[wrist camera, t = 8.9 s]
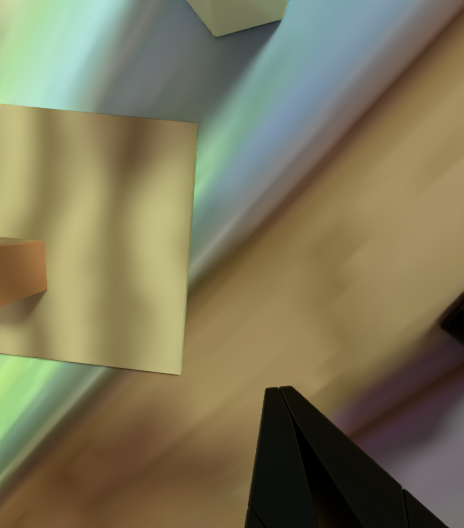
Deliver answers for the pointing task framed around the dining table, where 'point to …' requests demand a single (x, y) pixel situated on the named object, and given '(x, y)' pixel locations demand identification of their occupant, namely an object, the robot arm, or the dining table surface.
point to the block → (21, 269)
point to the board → (99, 235)
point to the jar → (237, 13)
